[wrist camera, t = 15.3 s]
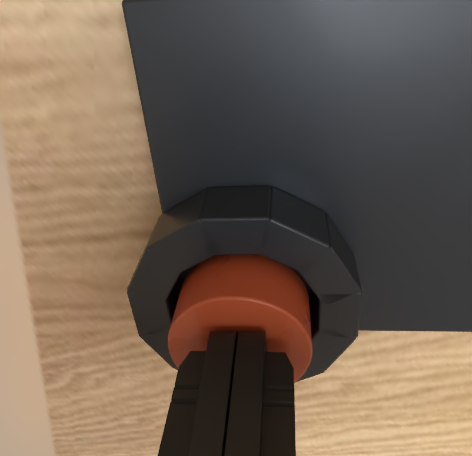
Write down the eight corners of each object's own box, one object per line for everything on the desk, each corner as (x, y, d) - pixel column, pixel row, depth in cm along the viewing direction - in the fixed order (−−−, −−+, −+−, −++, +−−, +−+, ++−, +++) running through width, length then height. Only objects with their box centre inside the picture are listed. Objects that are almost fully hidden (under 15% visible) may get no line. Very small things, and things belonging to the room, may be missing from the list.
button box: (174, 307, 19) (151, 386, 16) (110, -9, 13) (49, 14, 9) (470, 308, 18) (513, 395, 14) (571, -44, 11) (690, -32, 8)
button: (190, 344, 15) (178, 396, 14) (171, 250, 13) (155, 297, 12) (308, 346, 15) (311, 400, 13) (310, 248, 13) (313, 298, 11)
